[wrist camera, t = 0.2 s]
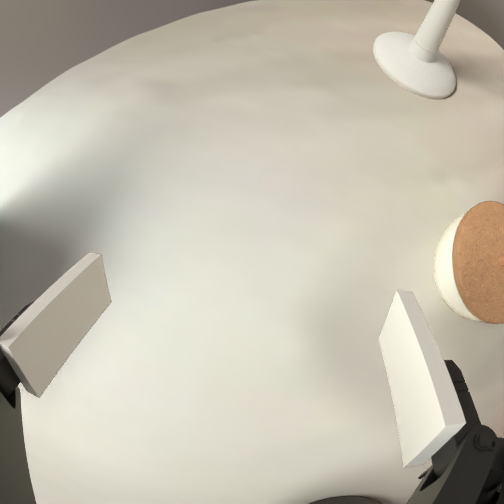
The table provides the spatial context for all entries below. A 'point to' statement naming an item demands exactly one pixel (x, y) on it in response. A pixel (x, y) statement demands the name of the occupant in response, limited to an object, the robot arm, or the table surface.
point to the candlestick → (420, 54)
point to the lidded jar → (473, 263)
